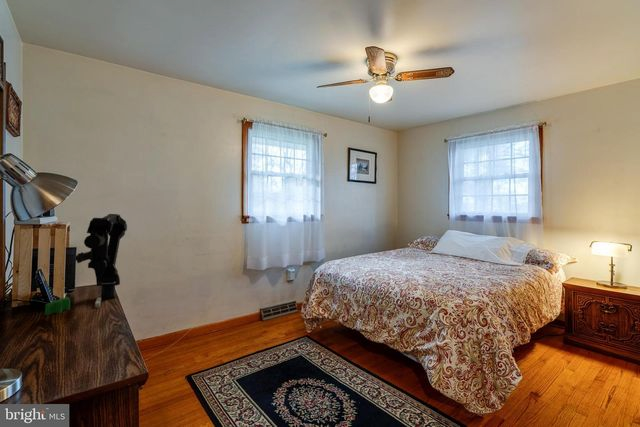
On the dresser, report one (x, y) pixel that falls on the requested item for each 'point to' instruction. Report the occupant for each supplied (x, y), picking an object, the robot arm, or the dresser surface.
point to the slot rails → (96, 302)
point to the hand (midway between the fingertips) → (98, 280)
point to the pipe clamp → (57, 306)
